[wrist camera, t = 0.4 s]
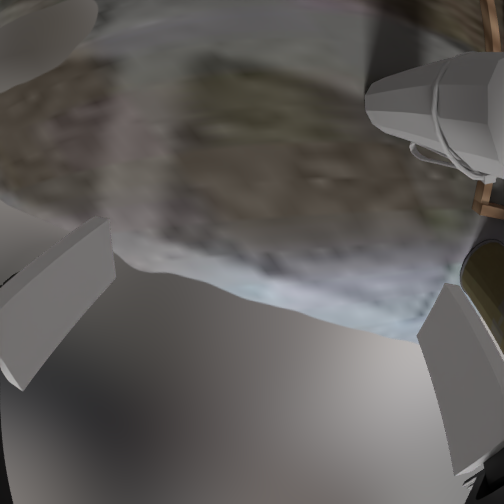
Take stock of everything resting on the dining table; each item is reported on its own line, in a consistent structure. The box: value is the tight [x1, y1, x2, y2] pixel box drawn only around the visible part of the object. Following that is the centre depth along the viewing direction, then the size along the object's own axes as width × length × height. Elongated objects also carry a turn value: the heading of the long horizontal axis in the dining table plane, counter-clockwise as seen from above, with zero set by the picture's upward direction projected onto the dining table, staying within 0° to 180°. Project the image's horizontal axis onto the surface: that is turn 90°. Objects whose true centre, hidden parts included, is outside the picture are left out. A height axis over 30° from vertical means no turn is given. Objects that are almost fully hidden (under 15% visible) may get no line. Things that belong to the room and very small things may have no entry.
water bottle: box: [365, 51, 504, 184], centre depth 18 cm, size 9×8×25 cm
